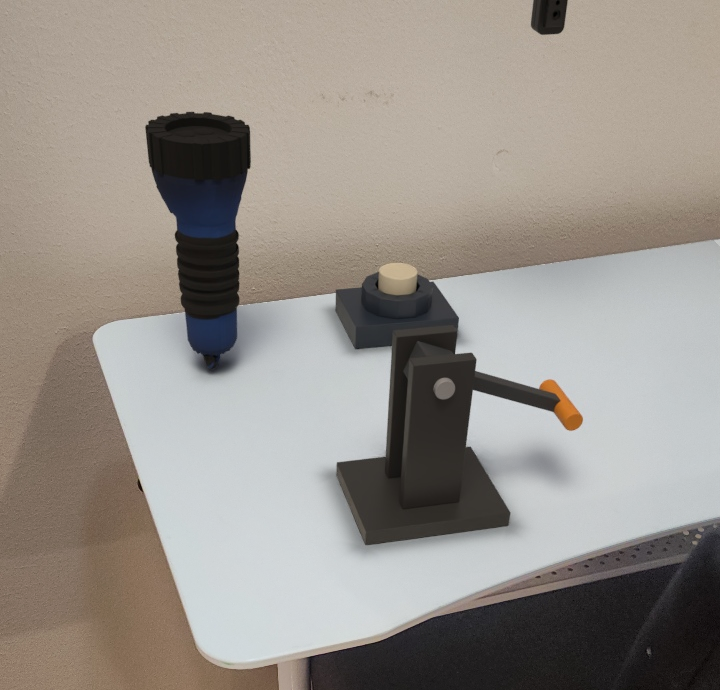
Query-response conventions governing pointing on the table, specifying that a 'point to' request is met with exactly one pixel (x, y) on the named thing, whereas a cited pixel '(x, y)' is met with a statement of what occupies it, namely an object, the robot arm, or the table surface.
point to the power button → (397, 279)
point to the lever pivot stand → (424, 451)
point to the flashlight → (203, 217)
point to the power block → (390, 311)
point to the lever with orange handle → (514, 389)
